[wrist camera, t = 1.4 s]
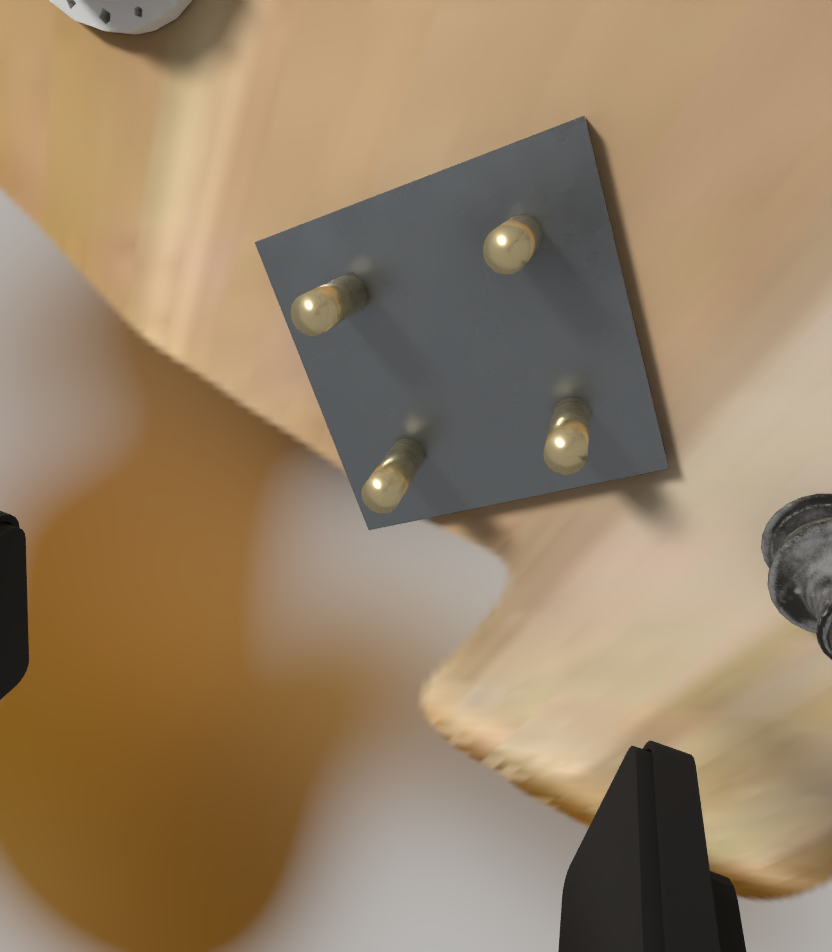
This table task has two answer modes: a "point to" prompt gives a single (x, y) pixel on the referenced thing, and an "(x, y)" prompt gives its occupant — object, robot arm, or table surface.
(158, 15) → the mechanical component
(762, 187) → the table surface
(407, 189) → the standoff chassis
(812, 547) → the grey chess piece
